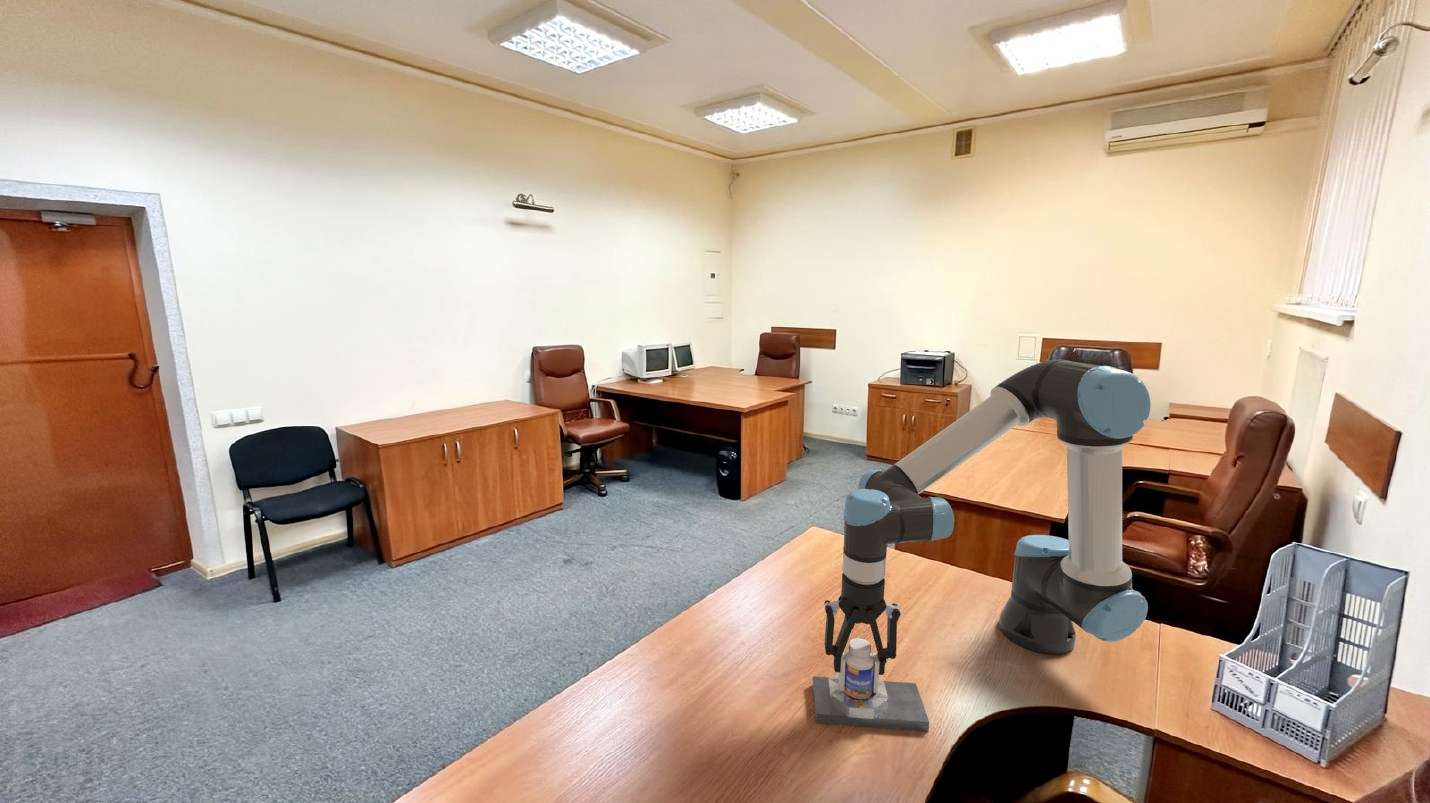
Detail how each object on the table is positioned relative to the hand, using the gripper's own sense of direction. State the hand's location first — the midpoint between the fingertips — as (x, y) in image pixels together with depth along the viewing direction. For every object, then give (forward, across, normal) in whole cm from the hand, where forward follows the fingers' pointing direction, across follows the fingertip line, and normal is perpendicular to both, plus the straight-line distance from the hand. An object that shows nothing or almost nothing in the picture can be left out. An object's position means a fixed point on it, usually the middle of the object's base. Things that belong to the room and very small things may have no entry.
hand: (857, 686), depth 105 cm
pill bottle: (+1, 0, 0) cm, 1 cm away
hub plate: (+4, -2, 0) cm, 5 cm away
